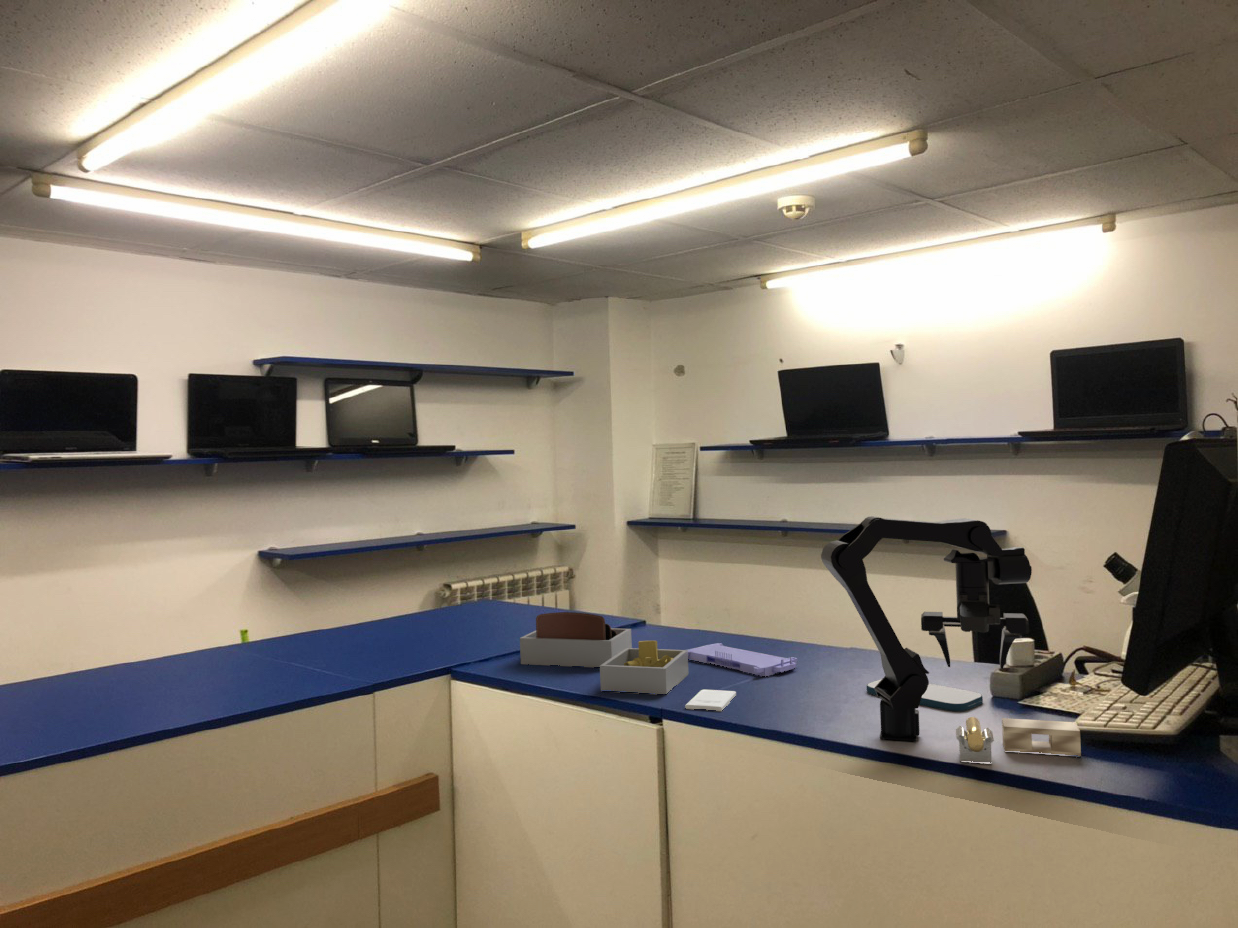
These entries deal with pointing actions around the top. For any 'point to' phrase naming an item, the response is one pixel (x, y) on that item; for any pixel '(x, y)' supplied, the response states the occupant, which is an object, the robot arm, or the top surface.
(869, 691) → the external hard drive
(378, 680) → the top surface
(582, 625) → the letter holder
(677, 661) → the tray
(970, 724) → the axle
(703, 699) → the external hard drive
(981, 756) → the v block
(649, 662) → the ball valve
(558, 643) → the holder tray
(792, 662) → the computer part
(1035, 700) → the top surface
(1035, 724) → the beam
